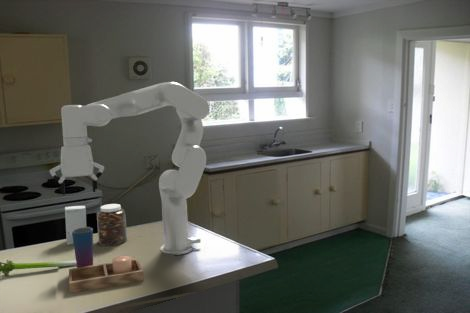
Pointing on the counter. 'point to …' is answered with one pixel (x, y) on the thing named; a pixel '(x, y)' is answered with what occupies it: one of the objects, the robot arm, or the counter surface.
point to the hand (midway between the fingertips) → (79, 192)
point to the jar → (111, 225)
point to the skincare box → (74, 220)
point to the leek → (32, 265)
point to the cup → (83, 246)
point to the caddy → (102, 276)
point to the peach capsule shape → (122, 265)
